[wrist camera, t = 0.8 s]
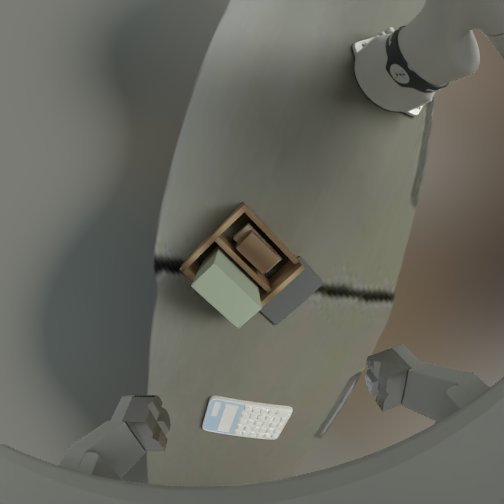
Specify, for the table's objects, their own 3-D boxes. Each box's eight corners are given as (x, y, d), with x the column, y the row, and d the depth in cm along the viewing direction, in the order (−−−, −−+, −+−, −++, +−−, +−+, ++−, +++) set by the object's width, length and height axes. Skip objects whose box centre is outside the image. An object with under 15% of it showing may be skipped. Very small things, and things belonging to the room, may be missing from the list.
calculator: (275, 436, 60) (276, 441, 58) (201, 425, 58) (201, 431, 56) (293, 405, 57) (294, 410, 55) (210, 392, 55) (210, 398, 53)
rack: (243, 201, 45) (244, 204, 39) (297, 258, 48) (305, 268, 42) (186, 258, 47) (179, 269, 41) (240, 309, 50) (241, 325, 44)
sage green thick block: (220, 243, 47) (214, 263, 35) (256, 279, 48) (261, 308, 37) (202, 261, 47) (190, 285, 36) (238, 295, 49) (238, 328, 37)
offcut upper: (251, 229, 43) (251, 232, 41) (277, 255, 45) (279, 259, 42) (235, 244, 44) (235, 248, 42) (261, 269, 45) (263, 274, 43)
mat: (299, 255, 48) (299, 256, 47) (323, 282, 49) (324, 282, 49) (250, 300, 49) (250, 301, 49) (275, 324, 51) (276, 325, 50)
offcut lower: (248, 221, 46) (249, 223, 43) (279, 254, 48) (282, 258, 45) (233, 235, 47) (233, 238, 44) (265, 267, 48) (266, 272, 45)
